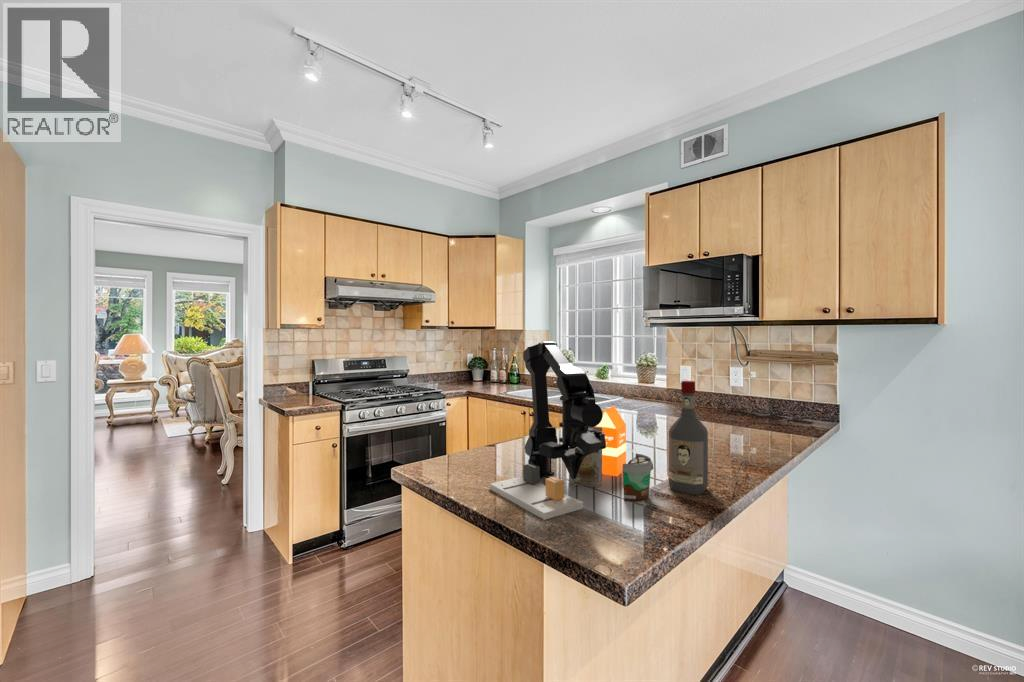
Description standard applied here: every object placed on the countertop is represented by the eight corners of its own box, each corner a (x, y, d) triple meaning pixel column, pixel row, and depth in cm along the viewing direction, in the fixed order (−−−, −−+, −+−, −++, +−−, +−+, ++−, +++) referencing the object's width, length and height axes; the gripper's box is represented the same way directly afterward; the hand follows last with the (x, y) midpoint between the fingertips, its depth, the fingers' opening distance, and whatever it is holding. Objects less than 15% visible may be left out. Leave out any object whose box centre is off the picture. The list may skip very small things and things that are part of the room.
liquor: (676, 481, 131) (675, 379, 131) (709, 487, 126) (709, 380, 126) (666, 490, 124) (666, 382, 123) (701, 497, 119) (701, 384, 118)
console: (524, 481, 132) (524, 475, 132) (582, 508, 111) (582, 501, 111) (489, 489, 126) (489, 483, 126) (544, 519, 105) (544, 512, 105)
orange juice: (626, 469, 143) (626, 406, 143) (617, 476, 136) (617, 411, 136) (603, 465, 148) (603, 404, 147) (592, 472, 140) (592, 408, 140)
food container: (646, 507, 112) (646, 467, 112) (622, 502, 115) (622, 464, 115) (658, 492, 122) (658, 455, 122) (636, 488, 126) (636, 452, 125)
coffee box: (567, 484, 129) (567, 429, 129) (572, 477, 135) (572, 424, 135) (600, 487, 126) (599, 431, 126) (603, 480, 132) (602, 426, 132)
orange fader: (554, 493, 117) (554, 476, 116) (564, 498, 113) (563, 480, 113) (545, 495, 115) (545, 478, 115) (555, 500, 112) (555, 482, 112)
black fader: (531, 478, 129) (531, 462, 128) (539, 482, 125) (539, 466, 125) (523, 480, 127) (523, 464, 127) (531, 484, 124) (531, 467, 124)
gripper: (565, 429, 105) (566, 495, 106) (621, 420, 116) (621, 480, 116) (537, 421, 115) (538, 482, 115) (591, 414, 125) (591, 469, 125)
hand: (573, 478), depth 118 cm, fingers closed
